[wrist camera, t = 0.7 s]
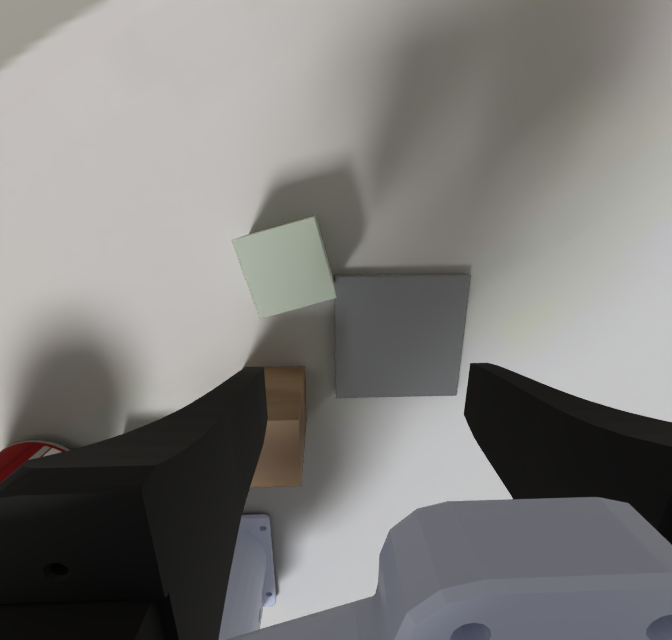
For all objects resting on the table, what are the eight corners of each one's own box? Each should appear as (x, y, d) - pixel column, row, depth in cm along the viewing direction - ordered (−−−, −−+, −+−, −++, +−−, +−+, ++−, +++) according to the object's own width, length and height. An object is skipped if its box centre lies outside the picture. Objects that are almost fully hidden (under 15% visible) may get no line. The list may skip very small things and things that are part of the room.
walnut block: (306, 418, 24) (301, 485, 18) (248, 420, 24) (224, 488, 18) (304, 366, 22) (298, 420, 17) (243, 367, 22) (215, 422, 17)
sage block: (334, 281, 21) (336, 298, 17) (271, 298, 21) (259, 318, 17) (315, 215, 20) (314, 216, 16) (248, 234, 20) (231, 240, 16)
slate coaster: (453, 390, 23) (456, 395, 23) (335, 393, 23) (335, 397, 22) (466, 273, 21) (470, 275, 20) (334, 275, 21) (335, 277, 20)
